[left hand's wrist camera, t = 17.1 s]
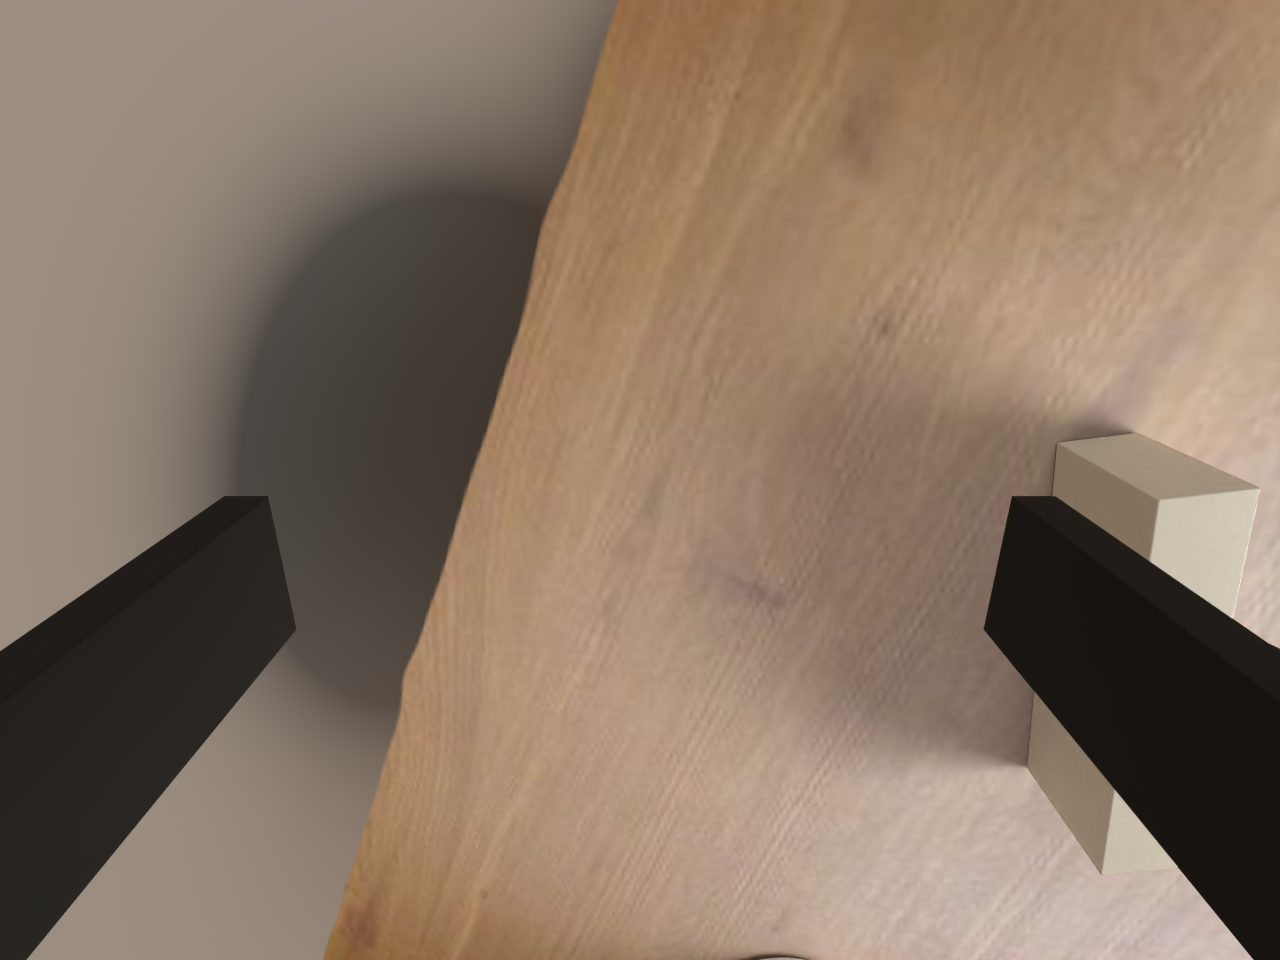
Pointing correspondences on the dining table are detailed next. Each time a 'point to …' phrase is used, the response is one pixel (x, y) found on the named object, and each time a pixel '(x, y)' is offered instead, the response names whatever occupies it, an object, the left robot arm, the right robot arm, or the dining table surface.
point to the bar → (1180, 546)
